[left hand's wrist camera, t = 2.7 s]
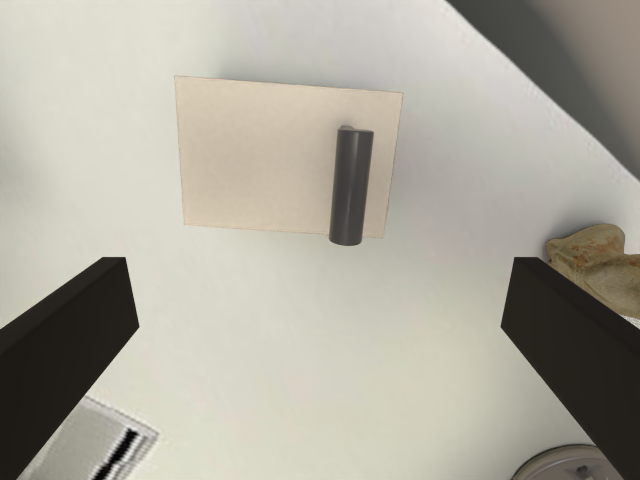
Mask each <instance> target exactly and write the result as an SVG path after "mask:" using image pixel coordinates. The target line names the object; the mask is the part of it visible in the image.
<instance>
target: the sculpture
mask: <svg viewBox="0 0 640 480" xmlns="http://www.w3.org/2000/svg"><path fill="white" fill-rule="evenodd" d="M624 243H625V235H624V232H623V231H622V230H621V229H620V228H619V227H617V226H615V225H612V224H598V225H594V226H591V227H588V228H585V229H583V230H580V231H578V232H576V233H574V234H573V235H571V236H569V237H567V238H564V239H556V238H554V239H551V240H549V241H548V242H547V254H548V255H549V256H550V257H551V260H550V261H549V262H548V265H549V266H551V267H552V268H553V269H555V270H556V271H558V272H559V273H560V274H562V275H563V276H565V277H566V278H568V279H569V280H570V281H572V282H573V283H575V284H576V285H577V286H579V287H580V288H582V289H583V290H585V291H586V292H587V293H589V294H590V295H592V296H593V297H594V298H596V299H597V300H599V301H600V302H601V303H603V304H604V305H606V306H607V307H609V308H610V309H611V310H613V311H614V312H616V313H617V314H620V315H624V316H628V317H632V318H636V319H640V254H634V255H627V254H624Z"/></svg>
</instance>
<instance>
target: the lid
mask: <svg viewBox="0 0 640 480" xmlns="http://www.w3.org/2000/svg"><path fill="white" fill-rule="evenodd" d="M175 91H176V107H177V122H178V138H179V154H180V170H181V186H182V202H183V217H184V225H190V226H205V227H221V228H236V229H252V230H267V231H283V232H298V233H314V234H329V240H330V241H331V242H333V243H335V244H338V245H344V246H354V245H358V244H360V243H361V242H362V237H375V238H383V237H384V230H385V223H386V215H387V208H388V201H389V193H390V186H391V179H392V171H393V164H394V157H395V149H396V142H397V135H398V128H399V120H400V113H401V106H402V98H403V93H402V92H389V91H376V90H362V89H349V88H335V87H322V86H309V85H295V84H282V83H268V82H255V81H241V80H228V79H215V78H201V77H188V76H175Z"/></svg>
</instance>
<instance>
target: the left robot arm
mask: <svg viewBox="0 0 640 480" xmlns="http://www.w3.org/2000/svg"><path fill="white" fill-rule="evenodd" d="M138 328H139V322H138V317H137V312H136V307H135V302H134V297H133V292H132V287H131V282H130V278H129V273H128V268H127V263H126V258H125V257H102V258H101V259H99V260H98V261H97V262H95V263H94V264H92V265H91V266H89V267H88V268H87V269H85V270H84V271H82V272H81V273H80V274H78V275H77V276H75V277H74V278H72V279H71V280H70V281H68V282H67V283H65V284H64V285H63V286H61V287H60V288H58V289H57V290H55V291H54V292H53V293H51V294H50V295H48V296H47V297H46V298H44V299H43V300H41V301H40V302H39V303H37V304H36V305H34V306H33V307H31V308H30V309H29V310H27V311H26V312H24V313H23V314H22V315H20V316H19V317H17V318H16V319H14V320H13V321H12V322H10V323H9V324H7V325H6V326H5V327H3V328H2V329H0V480H16V479H17V478H18V477H19V475H20V474H21V473H22V472H23V470H24V469H25V468H26V467H27V466H28V464H29V463H30V462H31V461H32V459H33V458H34V457H35V456H36V454H37V453H38V452H39V451H40V449H41V448H42V447H43V446H44V445H45V443H46V442H47V441H48V440H49V438H50V437H51V436H52V435H53V433H54V432H55V431H56V430H57V428H58V427H59V426H60V425H61V423H62V422H63V421H64V420H65V419H66V417H67V416H68V415H69V414H70V412H71V411H72V410H73V409H74V407H75V406H76V405H77V404H78V402H79V401H80V400H81V399H82V397H83V396H84V395H85V394H86V393H87V391H88V390H89V389H90V388H91V386H92V385H93V384H94V383H95V381H96V380H97V379H98V378H99V376H100V375H101V374H102V373H103V372H104V370H105V369H106V368H107V367H108V365H109V364H110V363H111V362H112V360H113V359H114V358H115V357H116V355H117V354H118V353H119V352H120V350H121V349H122V348H123V347H124V346H125V344H126V343H127V342H128V341H129V339H130V338H131V337H132V336H133V334H134V333H135V332H136V331H137V329H138ZM501 328H502V329H503V331H504V332H505V333H506V334H507V336H508V337H509V338H510V339H511V341H512V342H513V343H514V344H515V346H516V347H517V348H518V349H519V350H520V352H521V353H522V354H523V355H524V357H525V358H526V359H527V360H528V362H529V363H530V364H531V365H532V367H533V368H534V369H535V370H536V372H537V373H538V374H539V375H540V376H541V378H542V379H543V380H544V381H545V383H546V384H547V385H548V386H549V388H550V389H551V390H552V391H553V393H554V394H555V395H556V396H557V397H558V399H559V400H560V401H561V402H562V404H563V405H564V406H565V407H566V409H567V410H568V411H569V412H570V414H571V415H572V416H573V417H574V419H575V420H576V421H577V422H578V423H579V425H580V426H581V427H582V428H583V430H584V431H585V432H586V433H587V435H588V436H589V437H590V438H591V440H592V441H593V442H594V443H595V445H596V446H597V447H594V446H585V445H574V446H566V447H561V448H557V449H553V450H550V451H548V452H545V453H543V454H541V455H539V456H537V457H535V458H533V459H532V460H530V461H529V462H528V463H526V464H525V465H524V466H523V467H522V468H521V469H520V470H519V471H518V472H517V474H516V475H515V476H514V478H513V480H640V329H638V328H637V327H635V326H634V325H633V324H631V323H630V322H628V321H627V320H626V319H624V318H623V317H621V316H620V315H618V314H617V313H616V312H614V311H613V310H611V309H610V308H609V307H607V306H606V305H604V304H603V303H601V302H600V301H599V300H597V299H596V298H594V297H593V296H592V295H590V294H589V293H587V292H586V291H585V290H583V289H582V288H580V287H579V286H577V285H576V284H575V283H573V282H572V281H570V280H569V279H568V278H566V277H565V276H563V275H562V274H560V273H559V272H558V271H556V270H555V269H553V268H552V267H551V266H549V265H548V264H546V263H545V262H543V261H542V260H541V259H539V258H538V257H515V258H514V263H513V268H512V273H511V278H510V282H509V287H508V292H507V297H506V302H505V307H504V312H503V317H502V322H501Z"/></svg>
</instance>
